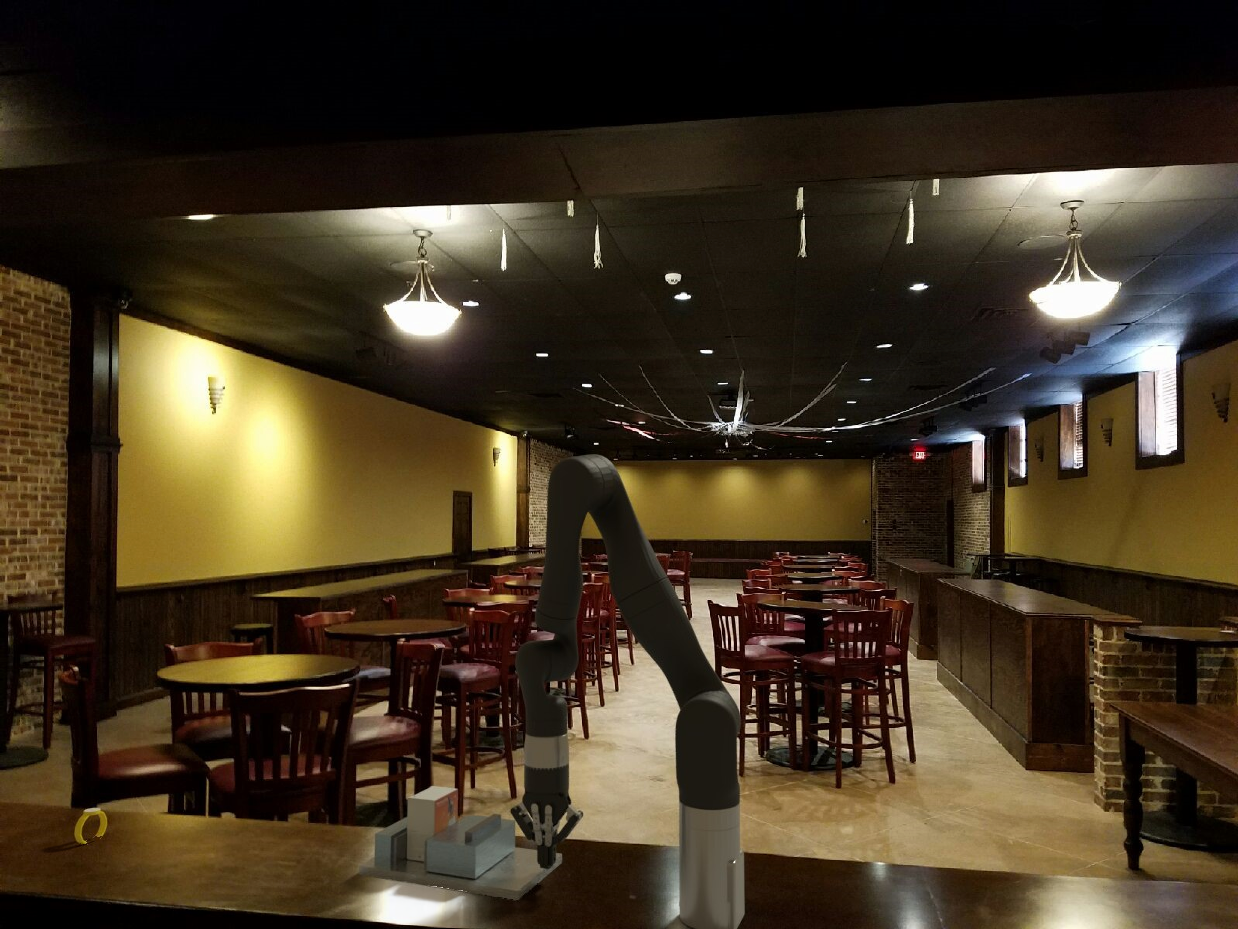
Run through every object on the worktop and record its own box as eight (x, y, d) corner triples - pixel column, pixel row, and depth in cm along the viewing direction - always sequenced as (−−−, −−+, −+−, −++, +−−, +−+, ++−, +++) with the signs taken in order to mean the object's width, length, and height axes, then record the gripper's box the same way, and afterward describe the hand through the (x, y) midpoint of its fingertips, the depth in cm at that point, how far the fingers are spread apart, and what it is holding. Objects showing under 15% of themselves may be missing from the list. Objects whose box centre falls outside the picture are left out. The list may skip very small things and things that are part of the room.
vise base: (562, 862, 154) (562, 824, 154) (517, 901, 138) (517, 858, 138) (415, 841, 164) (416, 805, 165) (358, 874, 148) (359, 835, 149)
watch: (97, 838, 167) (100, 805, 168) (108, 839, 166) (112, 806, 167) (69, 846, 161) (73, 812, 162) (81, 848, 161) (85, 814, 162)
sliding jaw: (515, 849, 155) (515, 812, 156) (475, 878, 142) (475, 838, 143) (465, 842, 159) (466, 806, 159) (422, 870, 146) (423, 830, 146)
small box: (433, 864, 149) (434, 801, 150) (405, 860, 151) (406, 797, 152) (458, 848, 156) (459, 788, 157) (431, 844, 158) (432, 785, 159)
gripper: (591, 758, 148) (591, 864, 147) (521, 752, 153) (520, 854, 151) (574, 769, 141) (574, 881, 140) (500, 762, 146) (500, 870, 144)
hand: (546, 867), depth 146 cm, fingers closed
